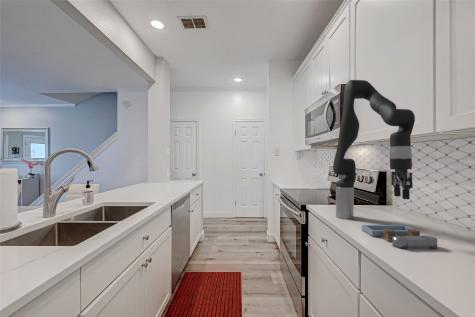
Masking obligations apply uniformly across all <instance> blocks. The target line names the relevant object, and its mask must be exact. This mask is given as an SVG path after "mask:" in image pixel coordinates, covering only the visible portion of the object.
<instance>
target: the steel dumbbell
mask: <svg viewBox="0 0 475 317" xmlns="http://www.w3.org/2000/svg"><path fill="white" fill-rule="evenodd" d="M391 246H392V247H394V248H396V249H399V250H408V249H409V250H415V249H417V250H425V249H427V250H437V249H438V238H436V237H434V236H429V235H420V236H392V242H391Z"/></svg>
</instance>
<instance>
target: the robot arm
mask: <svg viewBox="0 0 475 317" xmlns="http://www.w3.org/2000/svg"><path fill="white" fill-rule="evenodd" d="M343 91H344V92H343V107H342V114H341V115H342V116H341V122H340V128H339V134H338V140H337V146H336V151H335V155H334V160H333V164H332V170H333V173H334V174H335V175H338V176H340V175H341V176H344V177H343V178H342V179H339V180H337V181H336V182H335V217H336V218H339V219H344V220H351V219H354V208H355V205H354V203H355V202H354V201H355V193H354V192H355V190H354V189H355V188H354V187H355V181H356V161H355V160H354V159H353V158H345V155H346V153H347V152H348V149H350V148H351V146H352V145H353V144H354V142H355V141H356V140H357V138H358V136H359V131H360V120H359V119H358V116H357V114H356V112H355V100H357V99H359V100H360V99H361V100H362V99H364V100H366V101H368V102H369V106H370V108H371V110H373V111H374V112H375V113H376V114H377V115H379V116H380V118H381V119H382V120H383V122H384V123H385V124H386V125H387V126H390V127H398V129H397V131H395V132H393V133H391V134H390V136H389V169H390V170H394V171H391V173H390V174H391V177H390V178H391V180H390V181H391V182H390V183H391V186H392V187H393V196H394V197H401V195H402V197H401V198H402V199H403V200H410V197H411V196H410V195H411V194H410V190H411V189H413V187H414V186H413V173H412V172H408V170H412V169H413V153H412V152H413V150H412V145H411V136H412V132H413V129H414V125H415V121H416V118H415V116H416V115H415V113H414V111H412V110H411V109H408V108H397V105H396V104H395V103H394V102H393V101H392V100H391V99H388V98H387V97H385V96H384V95H382V94H381V93H380V92H379V91H378V90H377V89H376V88H375V87H374V86H373V85H372V84H371V83H370V82H369V81H367V80H364V79H350V80H348V81H347V82H346V84H345V85H344V90H343ZM401 189H402V190H401Z"/></svg>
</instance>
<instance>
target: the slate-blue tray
mask: <svg viewBox="0 0 475 317" xmlns="http://www.w3.org/2000/svg"><path fill="white" fill-rule="evenodd" d="M383 229H392V230H394V231H395V236H407V229H414V228H413V227H410V226H408V225H404V224H361V231H362V232H363V233H365V234H367V235H369V236H371V237H372V238H381V236H383Z"/></svg>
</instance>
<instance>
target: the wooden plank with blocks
mask: <svg viewBox="0 0 475 317" xmlns="http://www.w3.org/2000/svg"><path fill="white" fill-rule="evenodd" d="M392 236H395V231H394V230H392V229H383V236H381V237H380V238H381V239H382V240H383V241H386V242H388V243H389V242H390V243H392ZM407 236H421V231H420V230H418V229H415V228H413V229H407Z"/></svg>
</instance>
